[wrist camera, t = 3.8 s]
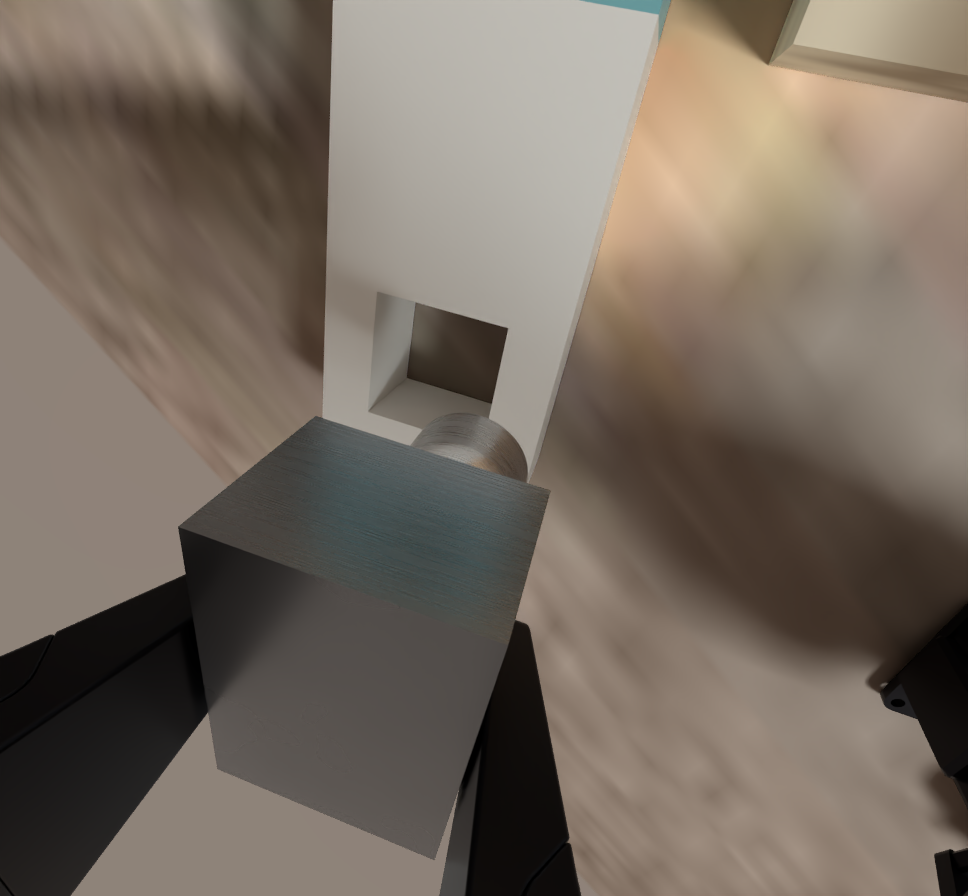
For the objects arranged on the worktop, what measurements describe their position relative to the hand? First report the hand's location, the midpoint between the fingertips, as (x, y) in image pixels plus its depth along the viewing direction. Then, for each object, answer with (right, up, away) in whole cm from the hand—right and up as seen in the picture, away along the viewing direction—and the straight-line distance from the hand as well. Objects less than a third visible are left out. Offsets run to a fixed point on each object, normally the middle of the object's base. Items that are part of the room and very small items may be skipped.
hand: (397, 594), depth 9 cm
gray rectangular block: (+1, +2, +4) cm, 4 cm away
